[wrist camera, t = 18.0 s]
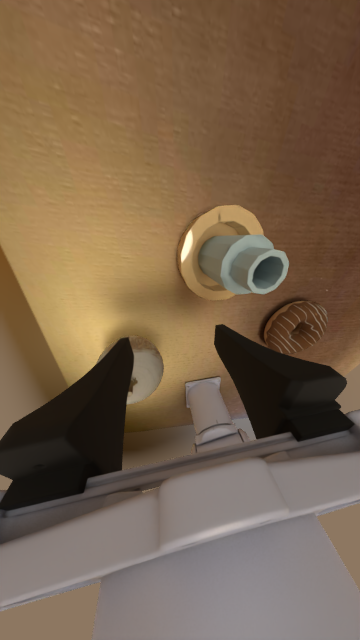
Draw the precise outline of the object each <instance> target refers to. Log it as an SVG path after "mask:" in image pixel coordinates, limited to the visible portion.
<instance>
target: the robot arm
mask: <svg viewBox="0 0 360 640" xmlns="http://www.w3.org/2000/svg"><path fill="white" fill-rule="evenodd" d="M214 345H215V348H216V350H217V352H218V355H219V357H220V358H221V360H222V362H223V364H224V365H225V367H226V369H227V371H228V372H229V374H230V376H231V378H232V380H233V381H234V384H235V386H236V388H237V390H238V393H239V395H240V397H241V400H242V402H243V404H244V407H245V410H246V412H247V415H248V417H249V420H250V422H251V425H252V428H253V431H254V433H255V436H256V439H257V440H253V441H250V439H249V437H248V436H247V434H246V433H245V432H244V431H243V430H242V429H238V431H237V429H236V427H235V424H233V422H232V420H231V418H230V415H229V413H228V410H227V408H226V406H225V403H224V401H223V399H222V396H221V394H220V391H219V388H220V381H221V378H220V377H215V378H209V379H204V380H198V381H192V382H187V383H186V384H185V388H186V404H187V408H191V412H192V417H193V422H194V426H195V431H196V436H195V442H196V443H195V444H193V446H192V449H191V455H187V456H183V457H178V458H174V459H170V460H165V461H161V462H156V463H152V464H148V465H143V466H139V467H135V468H130V469H126V470H122V454H123V438H124V425H125V413H126V404H127V397H128V392H129V387H130V382H131V377H132V372H133V367H134V354H133V350H132V347H131V344H130V340H129V337H125V338H120V339H119V340H118V342H117V343H116V344H115V345H114V346H113V347H112V348H111V350H110V351H109V352H108V353H107V354H106V355H105V356H104V357H103V358H102V359H101V360H100V361H99V362H98V363H97V364H96V365H95V366H94V367H93V368H92V369H91V370H90V371H89V372H88V373H87V374H85V375H84V376H83V377H82V378H81V379H79V380H78V381H77V382H76V383H74V384H73V385H72V386H70V387H69V388H68V389H66V390H65V391H64V392H62V393H61V394H60V395H58V396H57V397H55V398H54V399H52V400H51V401H50V402H48V403H46V404H45V405H43V406H42V407H40V408H38V409H37V410H35V411H33V412H32V413H30V414H28V415H27V416H25V417H23V418H22V419H20V420H19V421H17V422H15V423H13V424H12V426H11V427H10V428H9V430H8V431H7V432H6V434H5V435H4V436H3V438H2V439H1V440H0V474H1V475H3V476H5V477H8V478H10V479H12V480H13V481H12V483H11V485H10V486H9V488H8V490H0V611H2V610H6V609H10V608H13V607H16V606H20V605H23V604H27V603H30V602H33V601H37V600H40V599H43V598H47V597H50V596H54V595H57V594H61V593H64V592H67V591H71V590H74V589H78V588H81V587H85V586H88V585H91V584H95V583H98V582H101V583H100V590H99V597H98V602H97V609H96V615H95V621H94V628H93V634H92V640H360V591H359V589H358V587H357V586H356V584H355V582H354V580H353V579H352V577H351V575H350V574H349V572H348V570H347V568H346V567H345V565H344V563H343V561H342V560H341V558H340V556H339V554H338V553H337V551H336V549H335V548H334V546H333V544H332V543H331V541H330V539H329V537H328V536H327V534H326V532H325V530H324V529H323V527H322V525H321V523H320V522H319V520H318V519H317V517H316V516H319V515H322V514H325V513H329V512H332V511H335V510H339V509H342V508H345V507H348V506H351V505H355V504H358V503H360V410H355V411H351V412H348V413H346V414H343V413H342V412H341V411H340V410H339V409H340V408H341V406H340V405H339V404H338V403H337V402H336V401H335V399H336V398H337V397H338V395H340V393H341V392H342V391H343V390H344V388H345V387H346V384H347V381H346V378H344V377H343V376H342V375H340V374H339V373H338V372H336V371H335V370H334V369H332V368H331V367H330V366H327V365H322V364H318V363H314V362H309V361H305V360H302V359H298V358H295V357H291V356H288V355H285V354H282V353H279V352H277V351H274V350H271V349H269V348H266V347H264V346H262V345H260V344H257V343H255V342H253V341H251V340H249V339H248V338H246V337H244V336H242V335H240V334H239V333H237V332H235V331H234V330H232V329H230V328H228V327H227V326H225V325H223V324H221V325H216V328H215V340H214ZM156 487H159V488H156ZM152 488H156V489H153V490H150V491H148V492H145V493H142V491H143V490H148V489H152Z"/></svg>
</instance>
